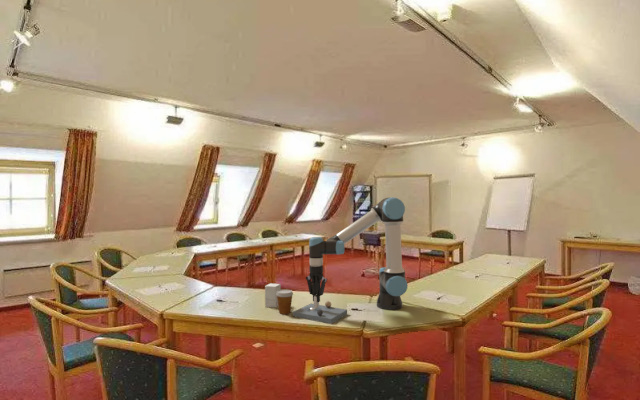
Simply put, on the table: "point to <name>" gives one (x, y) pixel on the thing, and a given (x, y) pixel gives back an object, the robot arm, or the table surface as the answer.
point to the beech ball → (328, 304)
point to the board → (327, 317)
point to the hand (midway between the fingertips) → (316, 307)
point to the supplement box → (271, 295)
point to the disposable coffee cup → (284, 301)
